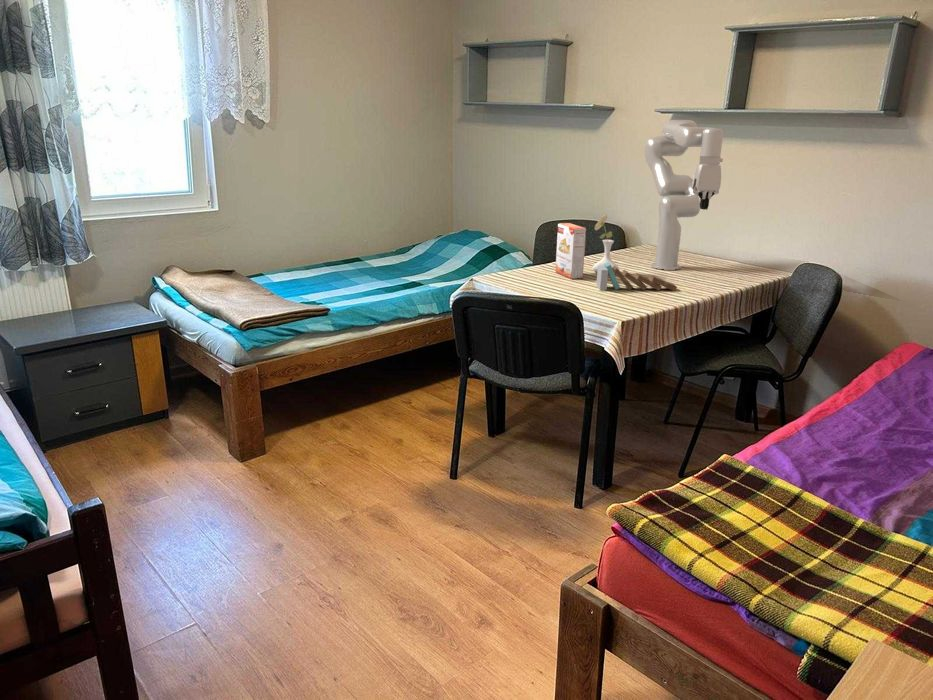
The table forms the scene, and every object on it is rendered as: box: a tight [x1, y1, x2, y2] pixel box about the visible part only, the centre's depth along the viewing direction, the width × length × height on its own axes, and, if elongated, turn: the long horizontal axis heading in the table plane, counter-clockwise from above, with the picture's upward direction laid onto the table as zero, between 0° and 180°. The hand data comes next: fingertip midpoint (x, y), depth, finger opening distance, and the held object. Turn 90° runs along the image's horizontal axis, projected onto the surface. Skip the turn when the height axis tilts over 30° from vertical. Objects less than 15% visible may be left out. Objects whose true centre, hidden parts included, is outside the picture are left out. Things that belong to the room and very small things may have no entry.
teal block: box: [604, 262, 621, 291], centre depth 276 cm, size 2×5×10 cm, turn 0°
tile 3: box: [621, 269, 648, 291], centre depth 276 cm, size 2×5×10 cm
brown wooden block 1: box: [612, 266, 634, 291], centre depth 276 cm, size 2×5×10 cm
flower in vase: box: [591, 214, 620, 273], centre depth 300 cm, size 13×11×25 cm
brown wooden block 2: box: [648, 274, 678, 292], centre depth 276 cm, size 2×5×10 cm
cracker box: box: [555, 222, 587, 280], centre depth 295 cm, size 14×6×21 cm, turn 21°
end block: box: [596, 266, 609, 291], centre depth 276 cm, size 8×2×8 cm, turn 0°
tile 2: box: [633, 272, 662, 291], centre depth 276 cm, size 2×5×10 cm
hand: (703, 209), depth 283 cm, fingers closed
